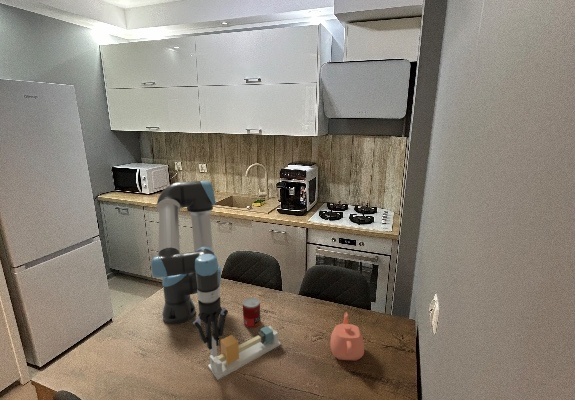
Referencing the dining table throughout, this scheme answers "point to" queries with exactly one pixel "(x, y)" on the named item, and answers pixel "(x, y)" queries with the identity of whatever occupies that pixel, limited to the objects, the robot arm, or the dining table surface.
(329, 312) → the dining table surface
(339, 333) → the teapot
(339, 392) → the dining table surface
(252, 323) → the canned food
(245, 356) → the linear slide rail
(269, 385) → the dining table surface
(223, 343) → the orange slider block
